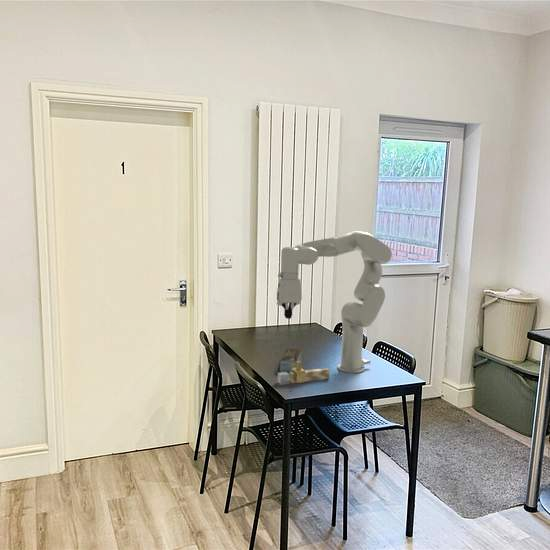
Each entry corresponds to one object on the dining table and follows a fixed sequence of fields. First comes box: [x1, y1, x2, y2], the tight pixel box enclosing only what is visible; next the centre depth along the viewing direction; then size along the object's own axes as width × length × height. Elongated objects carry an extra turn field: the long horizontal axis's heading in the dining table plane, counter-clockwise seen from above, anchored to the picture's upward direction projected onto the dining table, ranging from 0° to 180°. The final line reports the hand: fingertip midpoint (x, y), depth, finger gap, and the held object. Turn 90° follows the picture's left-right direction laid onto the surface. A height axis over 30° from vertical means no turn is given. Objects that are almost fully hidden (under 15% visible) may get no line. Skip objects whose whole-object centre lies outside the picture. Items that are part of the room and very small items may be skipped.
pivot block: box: [277, 372, 290, 386], centre depth 233 cm, size 4×3×4 cm
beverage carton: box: [279, 348, 302, 374], centre depth 256 cm, size 8×19×7 cm, turn 170°
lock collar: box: [292, 361, 306, 384], centre depth 236 cm, size 4×5×9 cm
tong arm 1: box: [289, 367, 329, 383], centre depth 239 cm, size 18×1×4 cm, turn 112°
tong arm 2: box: [290, 368, 330, 384], centre depth 237 cm, size 18×1×4 cm, turn 113°
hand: (288, 317), depth 237 cm, fingers closed
